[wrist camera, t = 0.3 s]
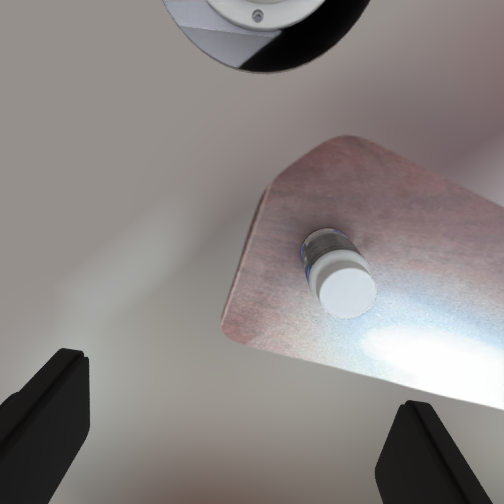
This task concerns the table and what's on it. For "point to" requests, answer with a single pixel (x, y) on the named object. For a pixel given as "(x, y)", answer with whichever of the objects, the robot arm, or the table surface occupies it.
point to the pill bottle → (338, 274)
